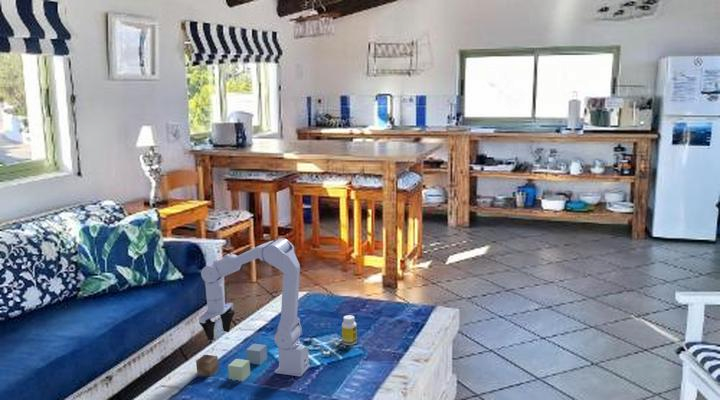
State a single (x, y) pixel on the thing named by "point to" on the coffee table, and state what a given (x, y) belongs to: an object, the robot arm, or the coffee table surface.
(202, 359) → the walnut block
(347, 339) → the supplement bottle
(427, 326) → the coffee table surface
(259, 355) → the slate block
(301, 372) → the robot arm
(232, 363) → the sage block
